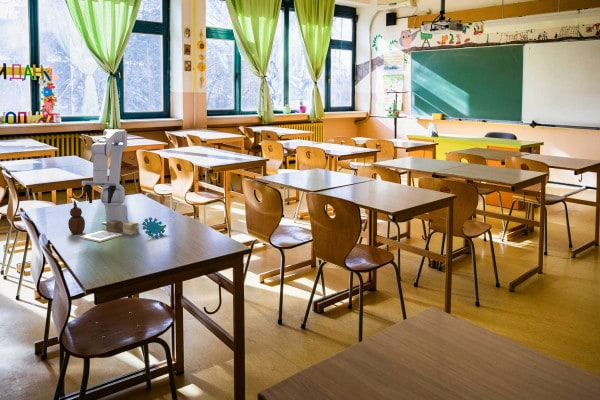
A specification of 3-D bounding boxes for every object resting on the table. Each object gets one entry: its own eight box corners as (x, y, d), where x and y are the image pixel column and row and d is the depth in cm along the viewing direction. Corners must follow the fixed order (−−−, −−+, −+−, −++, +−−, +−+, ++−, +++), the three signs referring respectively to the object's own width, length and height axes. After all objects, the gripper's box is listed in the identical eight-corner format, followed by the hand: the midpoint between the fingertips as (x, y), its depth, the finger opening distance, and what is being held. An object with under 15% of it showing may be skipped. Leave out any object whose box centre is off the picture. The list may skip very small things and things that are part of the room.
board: (102, 231, 243) (102, 229, 242) (122, 235, 237) (122, 233, 237) (79, 237, 232) (79, 236, 232) (99, 242, 227) (99, 240, 226)
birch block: (131, 231, 244) (130, 221, 243) (138, 232, 242) (138, 222, 241) (123, 233, 240) (123, 223, 239) (131, 235, 238) (130, 224, 237)
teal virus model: (147, 236, 230) (140, 216, 234) (141, 244, 233) (135, 224, 238) (170, 235, 237) (163, 216, 242) (165, 243, 241) (158, 223, 245)
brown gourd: (78, 235, 236) (76, 201, 233) (66, 234, 237) (64, 200, 234) (87, 231, 242) (85, 198, 239) (76, 230, 243) (73, 197, 240)
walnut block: (114, 229, 246) (114, 219, 245) (122, 231, 244) (121, 221, 243) (106, 231, 242) (106, 221, 241) (114, 233, 240) (113, 223, 239)
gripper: (84, 169, 227) (84, 202, 227) (120, 171, 235) (120, 203, 235) (80, 170, 233) (80, 203, 233) (115, 172, 241) (115, 203, 241)
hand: (100, 203), depth 234 cm, fingers open, 7 cm apart
